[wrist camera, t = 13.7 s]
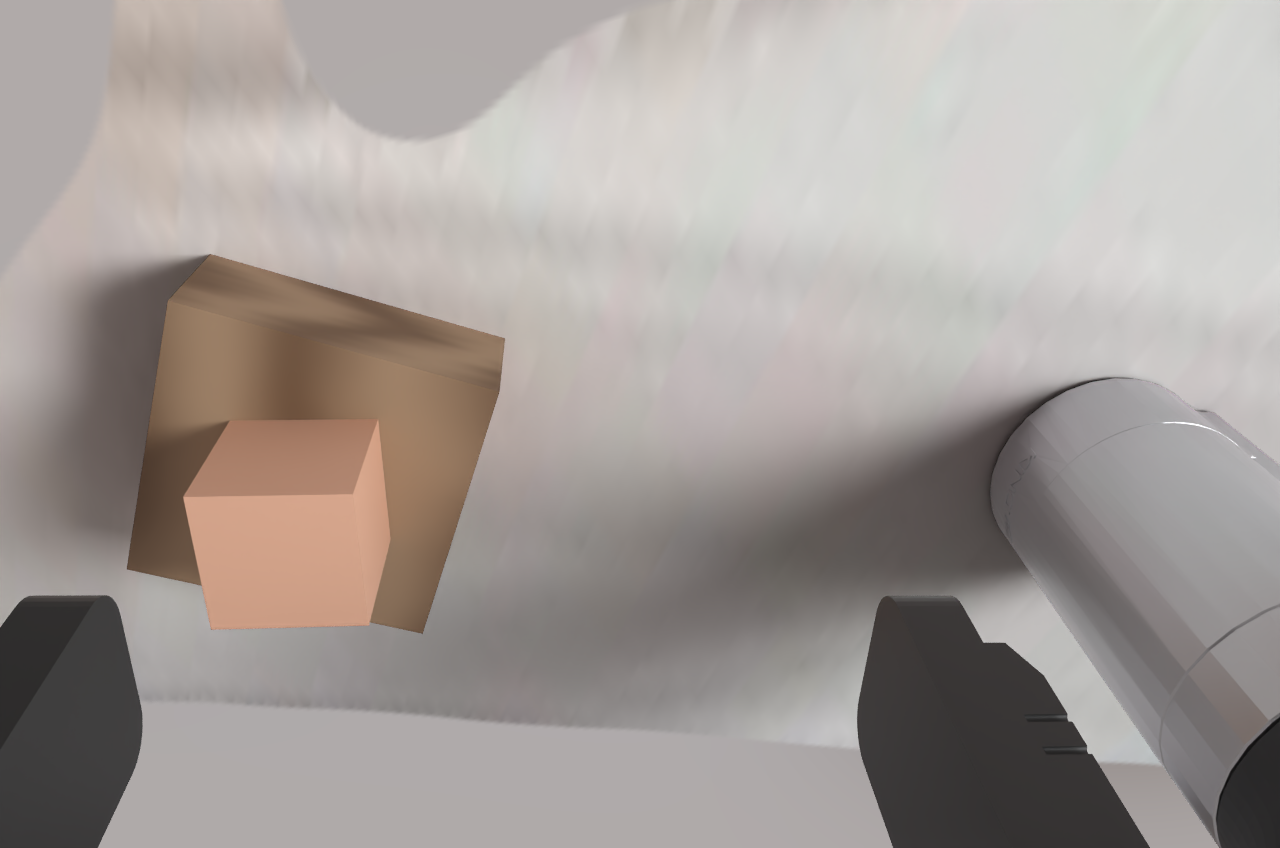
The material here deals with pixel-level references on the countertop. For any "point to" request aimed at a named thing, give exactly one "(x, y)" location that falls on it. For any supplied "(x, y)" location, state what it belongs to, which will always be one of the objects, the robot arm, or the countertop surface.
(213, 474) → the terracotta cube
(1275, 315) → the countertop surface
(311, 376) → the walnut block
